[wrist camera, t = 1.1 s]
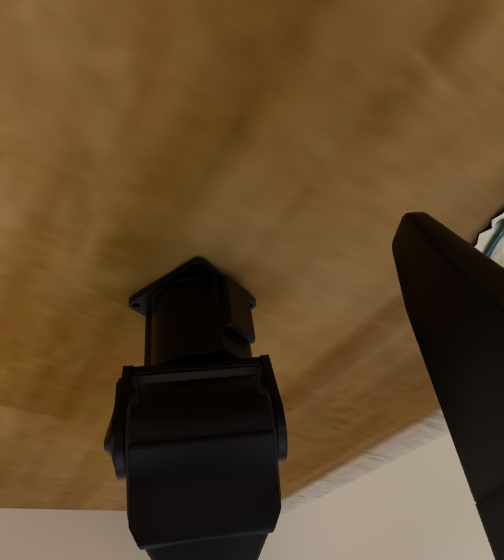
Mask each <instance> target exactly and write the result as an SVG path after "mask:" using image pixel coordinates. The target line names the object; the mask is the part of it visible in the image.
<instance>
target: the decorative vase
mask: <svg viewBox="0 0 504 560" xmlns="http://www.w3.org/2000/svg"><path fill="white" fill-rule="evenodd" d="M474 247H475V248H477V249H478V250H479V251H481V252H482V253H484V254H485V255H487V256H488V257H489V258H491V259H492V260H494V261H495V262H496V263H498V264H499V265H501V266H502V267H504V213H503V214H501V215H500V216H498V217H496V218H495V219H493V220H492V229H490V230H488V231H485V232H483V233H481V234H479V238H478V243H477V245H476V246H474Z"/></svg>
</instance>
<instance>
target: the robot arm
mask: <svg viewBox="0 0 504 560" xmlns="http://www.w3.org/2000/svg"><path fill="white" fill-rule="evenodd" d="M392 251H393V256H394V260H395V264H396V269H397V273H398V278H399V282H400V286H401V291H402V295H403V299H404V303H405V307H406V311H407V314H408V317H409V320H410V323H411V325H412V328H413V331H414V334H415V337H416V339H417V342H418V345H419V348H420V351H421V353H422V356H423V359H424V362H425V364H426V367H427V370H428V373H429V376H430V378H431V381H432V384H433V387H434V390H435V392H436V395H437V398H438V401H439V403H440V406H441V409H442V412H443V415H444V417H445V420H446V423H447V426H448V429H449V431H450V434H451V437H452V439H453V442H454V445H455V448H456V451H457V454H458V456H459V459H460V462H461V465H462V467H463V470H464V473H465V476H466V478H467V481H468V484H469V487H470V490H471V493H472V495H473V498H474V501H475V502H476V507H477V510H478V513H479V516H480V518H481V521H482V524H483V527H484V530H485V532H486V535H487V537H488V541H489V543H490V546H491V549H492V552H493V554H494V557H495V560H504V267H502V266H501V265H499V264H498V263H496V262H495V261H494V260H492V259H491V258H489V257H488V256H487V255H485V254H484V253H482V252H481V251H479V250H478V249H477V248H475V247H474V246H472V245H471V244H469V243H468V242H467V241H465V240H464V239H462V238H461V237H460V236H458V235H457V234H455V233H454V232H452V231H451V230H450V229H448V228H447V227H445V226H444V225H442V224H441V223H440V222H438V221H437V220H435V219H434V218H433V217H431V216H430V215H428V214H427V213H424V212H411V213H406V214H405V215H404V216H403V217H402V219H401V222H400V224H399V227H398V229H397V231H396V234H395V236H394V239H393V242H392ZM198 265H199V266H198ZM255 306H256V300H255V298H254V297H253V296H251V295H250V294H249V293H248V291H247V290H245V289H244V288H243V287H242V286H240V285H239V284H238V283H236V282H235V281H234V280H233V279H231V278H230V277H229V276H227V275H225V274H223V273H222V272H220V271H219V270H218V269H217V268H215V267H214V266H213V265H211V264H210V263H209V262H208V261H206V260H205V259H203V258H200V257H198V258H194V259H192V260H191V261H189V262H187V263H186V264H184V265H183V266H181V267H179V268H178V269H176V270H174V271H173V272H171V273H170V274H168V275H166V276H165V277H163V278H161V279H160V280H158V281H157V282H155V283H153V284H152V285H150V286H148V287H147V288H145V289H144V290H142V291H140V292H139V293H137V294H135V295H134V296H132V297H131V298H130V299H129V307H130V308H131V309H133V310H135V311H137V312H139V313H140V314H142V315H144V316H146V324H145V358H144V366H137V367H133V365H131V366H123V371H122V377H121V378H119V381H118V382H117V383H116V395H115V405H114V411H113V414H112V417H111V421H110V424H109V427H108V430H107V433H106V436H105V440H104V450H105V451H106V452H107V453H108V454H109V455H110V456H111V457H112V460H113V465H114V467H115V473H116V477H117V479H118V480H119V481H121V480H126V485H127V516H128V521H129V529H130V531H131V533H132V535H133V537H134V540H135V541H136V543H137V546H138V547H139V548H140V549H141V550H143V549H145V550H146V552H147V553H148V555H149V556H150V558H151V560H258V558H259V555H260V553H261V550H262V548H263V545H264V543H265V540H266V538H267V536H268V533H272V532H273V531H274V529H275V527H276V523H277V520H278V517H279V514H280V511H281V490H280V478H279V467H278V463H283V462H285V461H286V458H287V430H286V422H285V415H284V409H283V405H282V401H281V398H280V394H279V390H278V387H277V383H276V380H275V376H274V372H273V369H272V365H271V361H270V358H269V355H260V357H252V353H251V346H250V344H252V343H254V342H255V333H254V326H253V320H252V314H251V309H253V308H254V307H255Z"/></svg>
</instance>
